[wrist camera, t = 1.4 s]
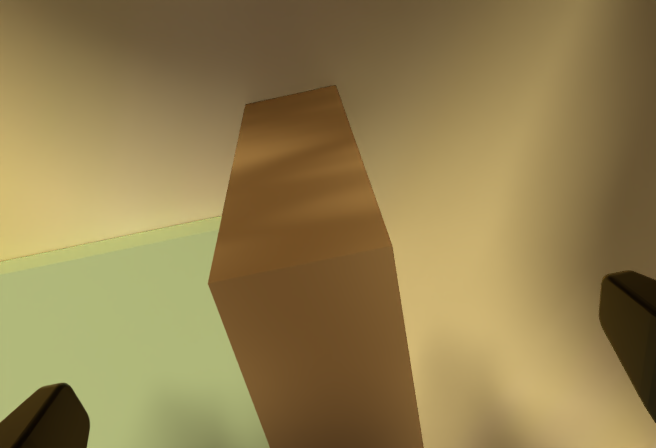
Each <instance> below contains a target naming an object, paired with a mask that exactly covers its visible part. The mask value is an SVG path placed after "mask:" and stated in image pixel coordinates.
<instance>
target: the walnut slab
mask: <svg viewBox="0 0 656 448" xmlns="http://www.w3.org/2000/svg"><path fill="white" fill-rule="evenodd" d="M208 286H209V288H210V291H211V294H212V296H213V299H214V301H215V304H216V307H217V309H218V312H219V315H220V317H221V320H222V323H223V325H224V328H225V330H226V333H227V336H228V338H229V341H230V344H231V346H232V349H233V352H234V354H235V357H236V360H237V362H238V365H239V367H240V370H241V373H242V375H243V378H244V381H245V383H246V386H247V389H248V391H249V394H250V397H251V399H252V402H253V404H254V407H255V410H256V412H257V415H258V418H259V420H260V423H261V426H262V428H263V431H264V433H265V436H266V439H267V441H268V444H269V447H270V448H424V447H423V441H422V434H421V428H420V421H419V415H418V408H417V402H416V395H415V389H414V383H413V376H412V370H411V363H410V357H409V350H408V344H407V337H406V331H405V325H404V318H403V312H402V305H401V299H400V292H399V286H398V280H397V273H396V267H395V260H394V254H393V247H392V244H391V241H390V238H389V235H388V232H387V229H386V227H385V224H384V221H383V218H382V215H381V212H380V209H379V207H378V204H377V201H376V198H375V195H374V192H373V190H372V187H371V184H370V181H369V178H368V175H367V173H366V170H365V167H364V164H363V161H362V158H361V156H360V153H359V150H358V147H357V144H356V141H355V139H354V136H353V133H352V130H351V127H350V124H349V121H348V119H347V116H346V113H345V110H344V107H343V104H342V102H341V99H340V96H339V93H338V90H337V87H336V85H334V86H329V87H325V88H320V89H315V90H311V91H306V92H301V93H297V94H292V95H287V96H283V97H278V98H273V99H269V100H264V101H259V102H254V103H250V104H245V109H244V114H243V119H242V123H241V128H240V133H239V138H238V142H237V147H236V152H235V156H234V161H233V166H232V171H231V175H230V180H229V185H228V190H227V194H226V199H225V204H224V209H223V213H222V218H221V223H220V228H219V232H218V237H217V242H216V246H215V251H214V256H213V261H212V265H211V270H210V275H209V280H208Z"/></svg>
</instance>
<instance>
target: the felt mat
mask: <svg viewBox="0 0 656 448" xmlns="http://www.w3.org/2000/svg"><path fill="white" fill-rule="evenodd" d="M221 218H222V216H219V217H214V218H209V219H204V220H199V221H195V222H190V223H185V224H180V225H175V226H170V227H166V228H161V229H156V230H151V231H146V232H142V233H137V234H132V235H127V236H122V237H118V238H113V239H108V240H103V241H98V242H94V243H89V244H84V245H79V246H74V247H69V248H65V249H60V250H55V251H50V252H45V253H41V254H36V255H31V256H26V257H21V258H17V259H12V260H7V261H2V262H0V422H1V421H2V420H3V419H5V418H6V417H7V416H8V415H9V414H10V413H11V412H13V411H14V410H15V409H16V408H17V407H18V406H19V405H20V404H22V403H23V402H24V401H25V400H26V399H27V398H28V397H30V396H31V395H32V394H33V393H34V392H35V391H36V390H38V389H39V388H41V387H43V386H46V385H52V384H57V383H67V384H69V385H70V386H71V387H72V389H73V390H74V392H75V394H76V395H77V397H78V398H79V400H80V402H81V403H82V405H83V407H84V408H85V410H86V411H87V413H88V416H89V419H90V432H89V438H88V444H87V448H270V447H269V444H268V441H267V439H266V436H265V433H264V431H263V428H262V426H261V423H260V420H259V418H258V415H257V412H256V410H255V407H254V404H253V402H252V399H251V397H250V394H249V391H248V389H247V386H246V383H245V381H244V378H243V375H242V373H241V370H240V367H239V365H238V362H237V360H236V357H235V354H234V352H233V349H232V346H231V344H230V341H229V338H228V336H227V333H226V330H225V328H224V325H223V323H222V320H221V317H220V315H219V312H218V309H217V307H216V304H215V301H214V299H213V296H212V294H211V291H210V288H209V286H208V280H209V275H210V270H211V265H212V261H213V256H214V251H215V246H216V242H217V237H218V232H219V228H220V223H221Z"/></svg>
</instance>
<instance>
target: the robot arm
mask: <svg viewBox="0 0 656 448" xmlns="http://www.w3.org/2000/svg"><path fill="white" fill-rule="evenodd" d="M599 319H600V323H601V326H602V328H603V330H604V332H605V334H606V336H607V338H608V340H609V341H610V343H611V345H612V347H613V349H614V351H615V352H616V354H617V356H618V358H619V360H620V362H621V364H622V365H623V367H624V369H625V371H626V373H627V375H628V377H629V378H630V380H631V382H632V384H633V386H634V388H635V390H636V391H637V393H638V395H639V397H640V399H641V400H642V402H643V404H644V406H645V407H646V409H647V411H648V412H649V414H650V415H651V417H652V418H653V420H654V421H655V423H656V280H654V279H652V278H649V277H647V276H644V275H642V274H639V273H637V272H634V271H630V270H628V271H621V272H616V273H611V274H607V275H606V276H604V277H603V279H602V283H601V293H600V305H599ZM89 432H90V419H89V416H88V413H87V411H86V410H85V408H84V407H83V405H82V403H81V402H80V400H79V398H78V397H77V395H76V394H75V392H74V390H73V389H72V387H71V386H70V385H69V384H67V383H57V384H52V385H46V386H43V387H41V388H39V389H38V390H36V391H35V392H34V393H33V394H32V395H31V396H30V397H28V398H27V399H26V400H25V401H24V402H23V403H22V404H20V405H19V406H18V407H17V408H16V409H15V410H14V411H13V412H11V413H10V414H9V415H8V416H7V417H6V418H5V419H3V420H2V421H1V422H0V448H87V444H88V438H89Z"/></svg>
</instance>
